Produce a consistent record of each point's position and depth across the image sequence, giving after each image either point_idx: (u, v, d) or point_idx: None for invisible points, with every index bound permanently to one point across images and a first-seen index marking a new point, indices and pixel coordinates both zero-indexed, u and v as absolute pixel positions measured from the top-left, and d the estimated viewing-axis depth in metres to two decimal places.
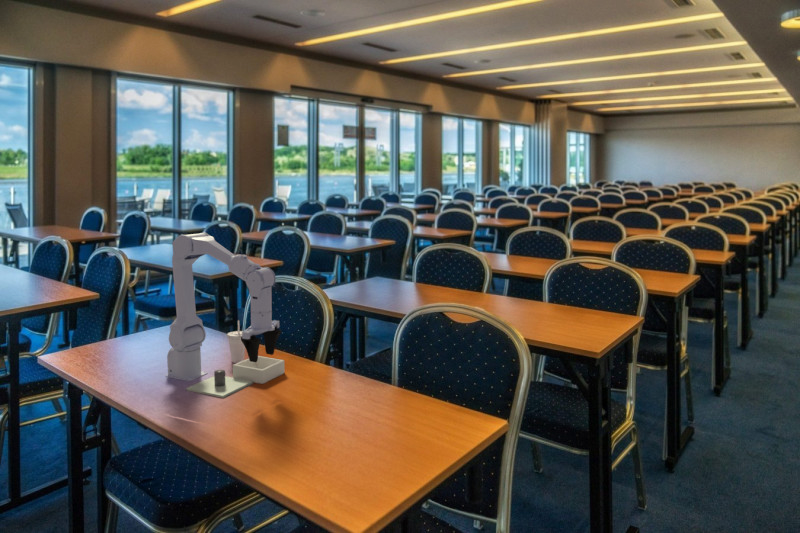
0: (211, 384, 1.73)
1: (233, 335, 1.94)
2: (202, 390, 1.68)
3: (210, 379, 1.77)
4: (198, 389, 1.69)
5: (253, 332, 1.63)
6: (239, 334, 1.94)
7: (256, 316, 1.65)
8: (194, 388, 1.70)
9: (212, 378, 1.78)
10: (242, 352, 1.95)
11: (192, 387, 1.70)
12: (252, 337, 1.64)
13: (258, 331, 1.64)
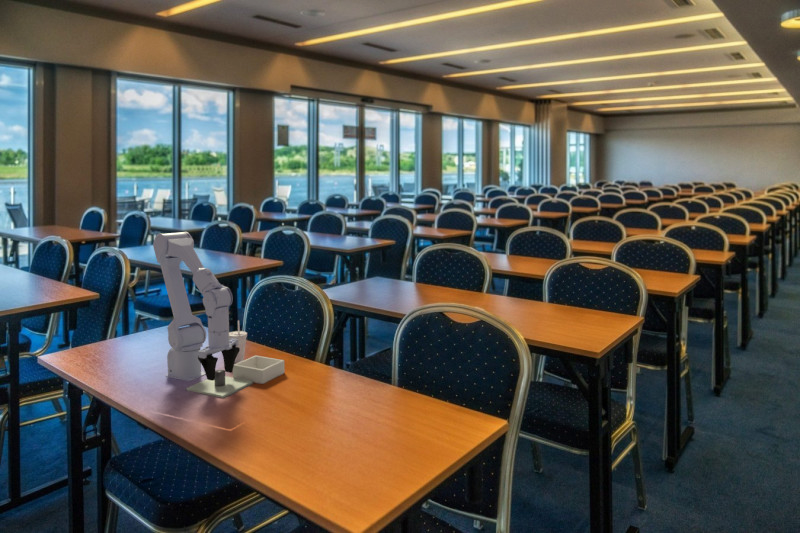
0: (211, 384, 1.73)
1: (233, 335, 1.94)
2: (202, 390, 1.68)
3: None
4: (198, 389, 1.69)
5: (209, 351, 1.66)
6: (239, 334, 1.94)
7: (213, 335, 1.68)
8: (194, 388, 1.70)
9: None
10: (242, 352, 1.95)
11: (192, 387, 1.70)
12: (209, 356, 1.66)
13: (215, 350, 1.67)
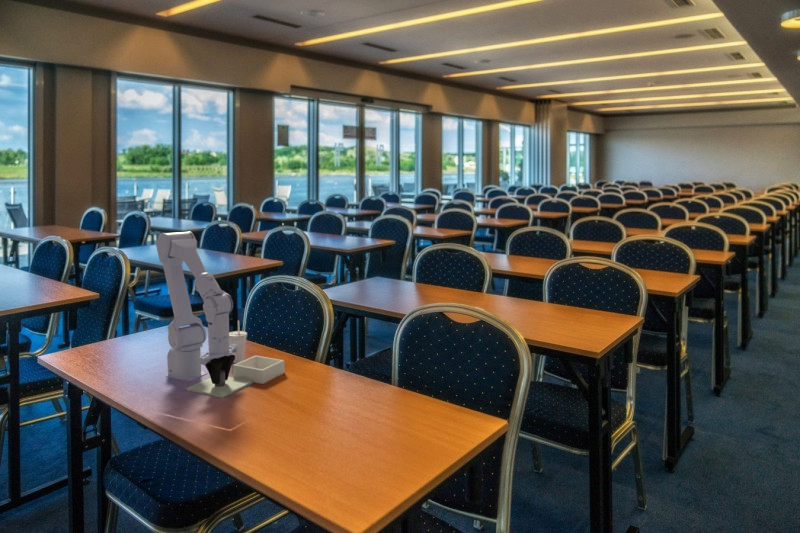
0: (211, 384, 1.73)
1: (233, 335, 1.94)
2: (202, 390, 1.68)
3: (210, 379, 1.77)
4: (198, 389, 1.69)
5: (210, 357, 1.66)
6: (239, 334, 1.94)
7: (213, 341, 1.68)
8: (194, 388, 1.70)
9: None
10: (242, 352, 1.95)
11: (192, 387, 1.70)
12: (214, 360, 1.69)
13: (215, 356, 1.67)
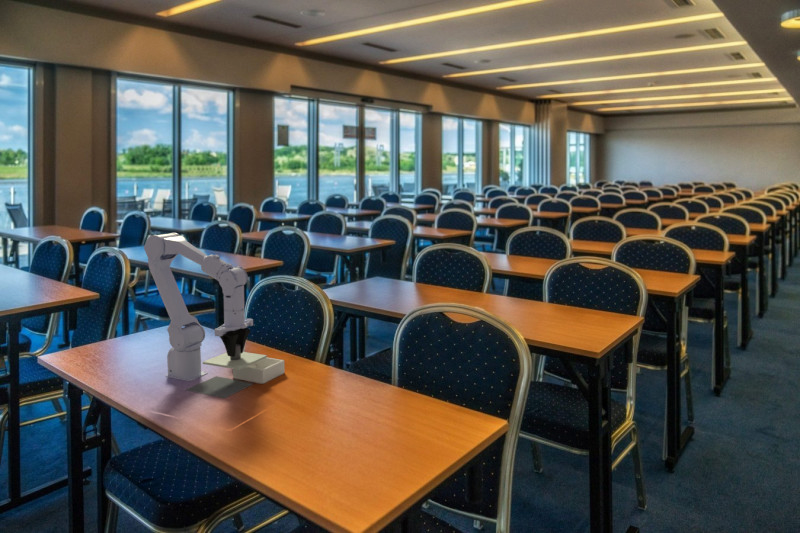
0: (227, 358, 1.76)
1: None
2: (218, 363, 1.71)
3: (225, 354, 1.80)
4: (214, 362, 1.72)
5: (225, 329, 1.69)
6: None
7: (229, 314, 1.71)
8: (210, 362, 1.72)
9: None
10: None
11: (208, 361, 1.73)
12: (229, 333, 1.71)
13: (230, 328, 1.70)
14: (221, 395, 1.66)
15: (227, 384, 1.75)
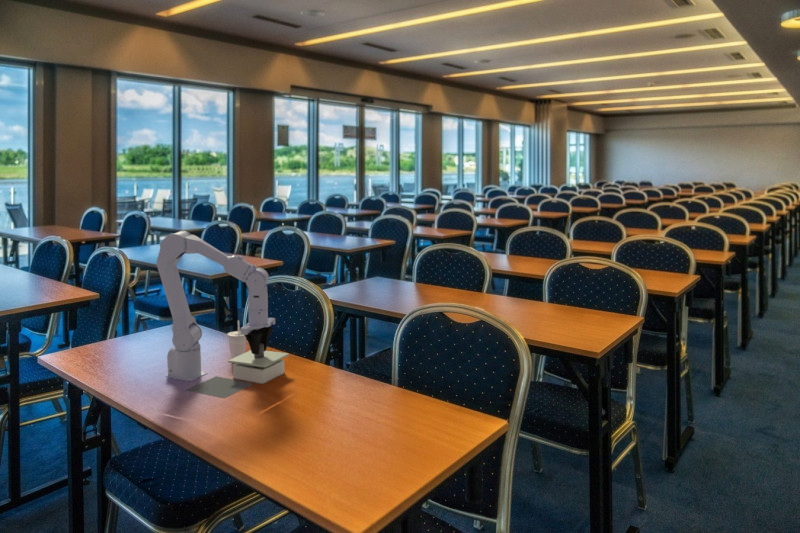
0: (251, 356, 1.82)
1: (233, 335, 1.94)
2: (244, 361, 1.77)
3: (248, 353, 1.86)
4: (240, 361, 1.78)
5: (250, 328, 1.75)
6: (239, 334, 1.94)
7: (253, 313, 1.78)
8: (236, 360, 1.79)
9: (249, 352, 1.87)
10: (242, 352, 1.95)
11: (233, 359, 1.79)
12: (254, 331, 1.78)
13: (255, 327, 1.77)
14: (221, 395, 1.66)
15: (227, 384, 1.75)
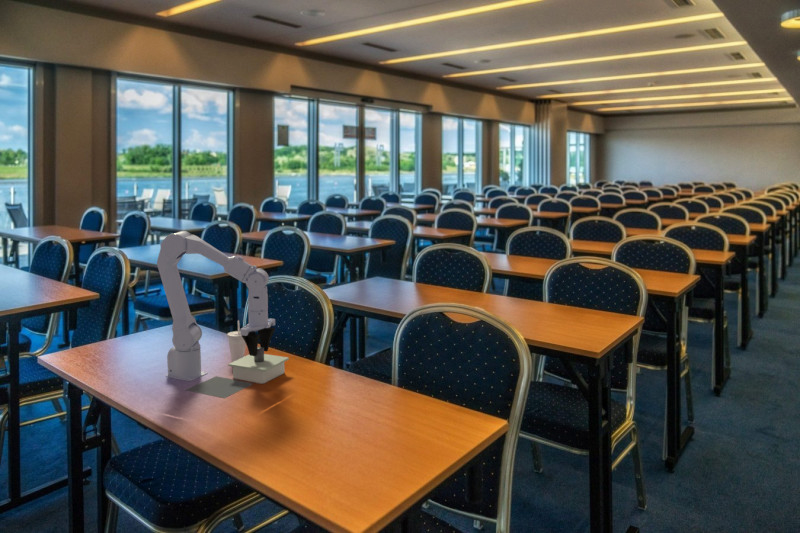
0: (251, 360, 1.82)
1: (233, 335, 1.94)
2: (244, 365, 1.78)
3: (248, 356, 1.86)
4: (240, 365, 1.78)
5: (250, 329, 1.76)
6: (239, 334, 1.94)
7: (253, 314, 1.78)
8: (236, 364, 1.79)
9: None
10: (242, 352, 1.95)
11: (233, 363, 1.79)
12: (252, 333, 1.77)
13: (255, 328, 1.77)
14: (221, 395, 1.66)
15: (227, 384, 1.75)
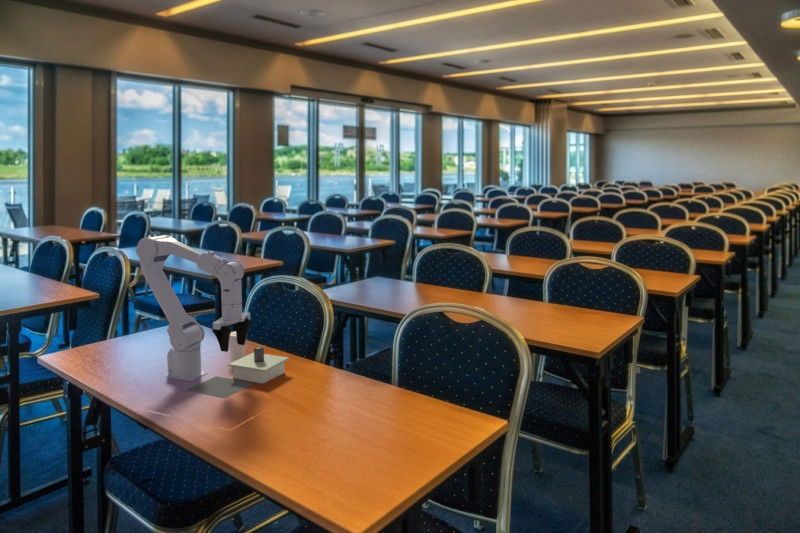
0: (251, 360, 1.82)
1: (233, 335, 1.94)
2: (244, 365, 1.78)
3: (248, 356, 1.86)
4: (240, 365, 1.78)
5: (223, 323, 1.71)
6: None
7: (226, 308, 1.73)
8: (236, 364, 1.79)
9: (250, 355, 1.87)
10: (242, 352, 1.95)
11: (233, 363, 1.79)
12: (223, 328, 1.71)
13: (228, 322, 1.72)
14: (221, 395, 1.66)
15: (227, 384, 1.75)
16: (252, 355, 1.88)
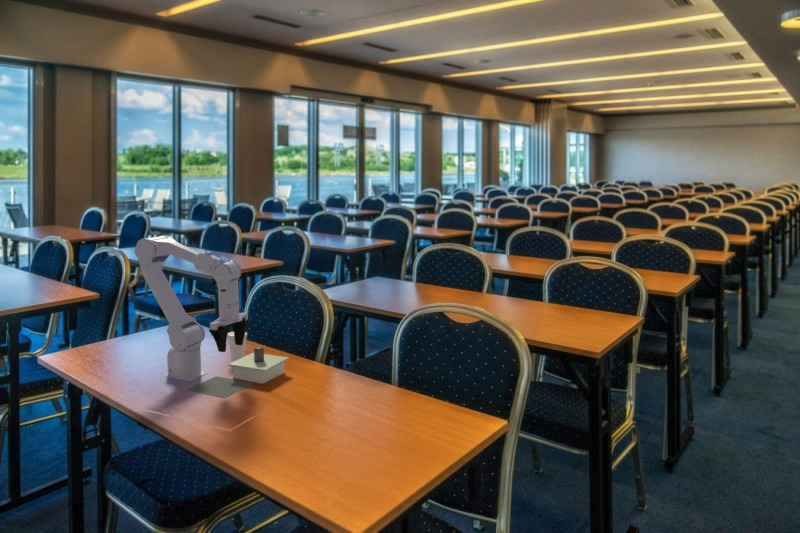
0: (251, 360, 1.82)
1: (233, 335, 1.94)
2: (244, 365, 1.78)
3: (248, 356, 1.86)
4: (240, 365, 1.78)
5: (220, 323, 1.70)
6: None
7: (223, 308, 1.72)
8: (236, 364, 1.79)
9: (250, 355, 1.87)
10: (242, 352, 1.95)
11: (233, 363, 1.79)
12: (220, 328, 1.71)
13: (225, 322, 1.71)
14: (221, 395, 1.66)
15: (227, 384, 1.75)
16: (252, 355, 1.88)
